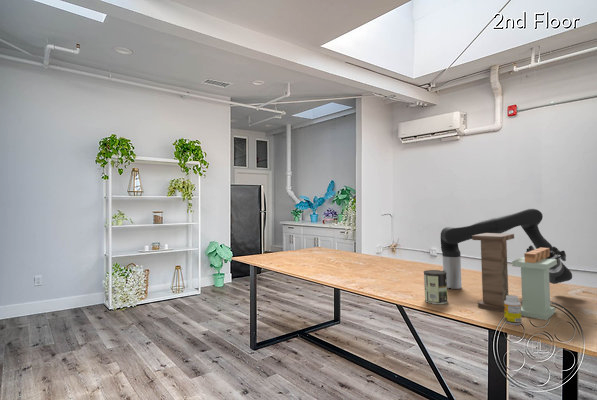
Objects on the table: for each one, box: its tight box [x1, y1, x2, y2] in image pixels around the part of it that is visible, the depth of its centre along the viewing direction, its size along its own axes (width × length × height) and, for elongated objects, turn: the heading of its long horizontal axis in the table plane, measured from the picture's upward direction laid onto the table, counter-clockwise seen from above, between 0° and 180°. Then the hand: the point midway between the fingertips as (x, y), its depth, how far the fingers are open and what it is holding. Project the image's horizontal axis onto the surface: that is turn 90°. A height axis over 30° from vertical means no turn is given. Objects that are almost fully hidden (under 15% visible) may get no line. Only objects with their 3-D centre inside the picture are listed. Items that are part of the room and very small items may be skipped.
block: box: [523, 248, 550, 263], centre depth 148 cm, size 24×4×4 cm, turn 132°
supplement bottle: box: [503, 294, 522, 326], centre depth 134 cm, size 6×6×10 cm
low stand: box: [511, 256, 557, 321], centre depth 145 cm, size 16×12×22 cm
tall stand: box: [471, 233, 515, 313], centre depth 156 cm, size 16×12×32 cm
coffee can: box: [423, 269, 449, 305], centre depth 166 cm, size 10×10×14 cm
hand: (542, 247), depth 153 cm, fingers open, 8 cm apart
